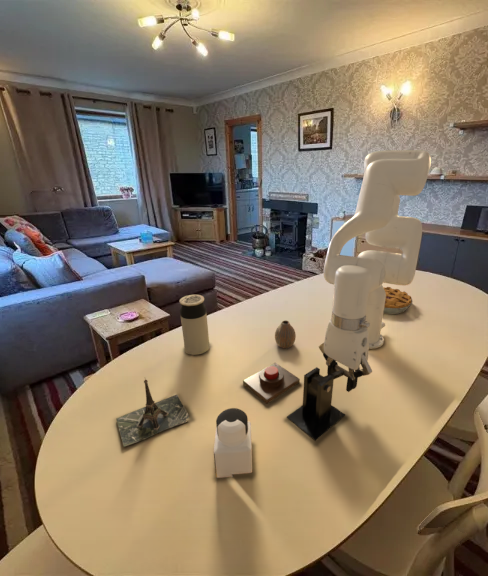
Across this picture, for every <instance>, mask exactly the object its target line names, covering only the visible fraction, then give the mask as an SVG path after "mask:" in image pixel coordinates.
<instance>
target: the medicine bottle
mask: <svg viewBox="0 0 488 576" xmlns="http://www.w3.org/2000/svg"><path fill="white" fill-rule="evenodd" d="M215 425H216V426H215V435H214V444H213V459H214V460H213V461H214V470H215V477H216V478H217V479H221V478H222V479H224V478H233V477H234V476H233V475H241V474H251V473H252V472H253V451H252V450H253V446H252V444H253V442H252V423H251V421H249V418H248V415H247V413H246V412H245V411H244V410H242V409H240V408H237V407H236V408H235V407H231V408H227V409H224V410H223V411H222V412H220V413H219V414H218V415H217V417H216V419H215Z"/></svg>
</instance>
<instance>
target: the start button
mask: <svg viewBox="0 0 488 576" xmlns="http://www.w3.org/2000/svg"><path fill="white" fill-rule="evenodd" d="M268 366H269V367H268ZM268 366H266V367H267V368H266V367H264V368H265V377H266V378H267V379H276V378H277V377H278V369H277V368H276V367H274V366H270V365H268Z"/></svg>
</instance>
